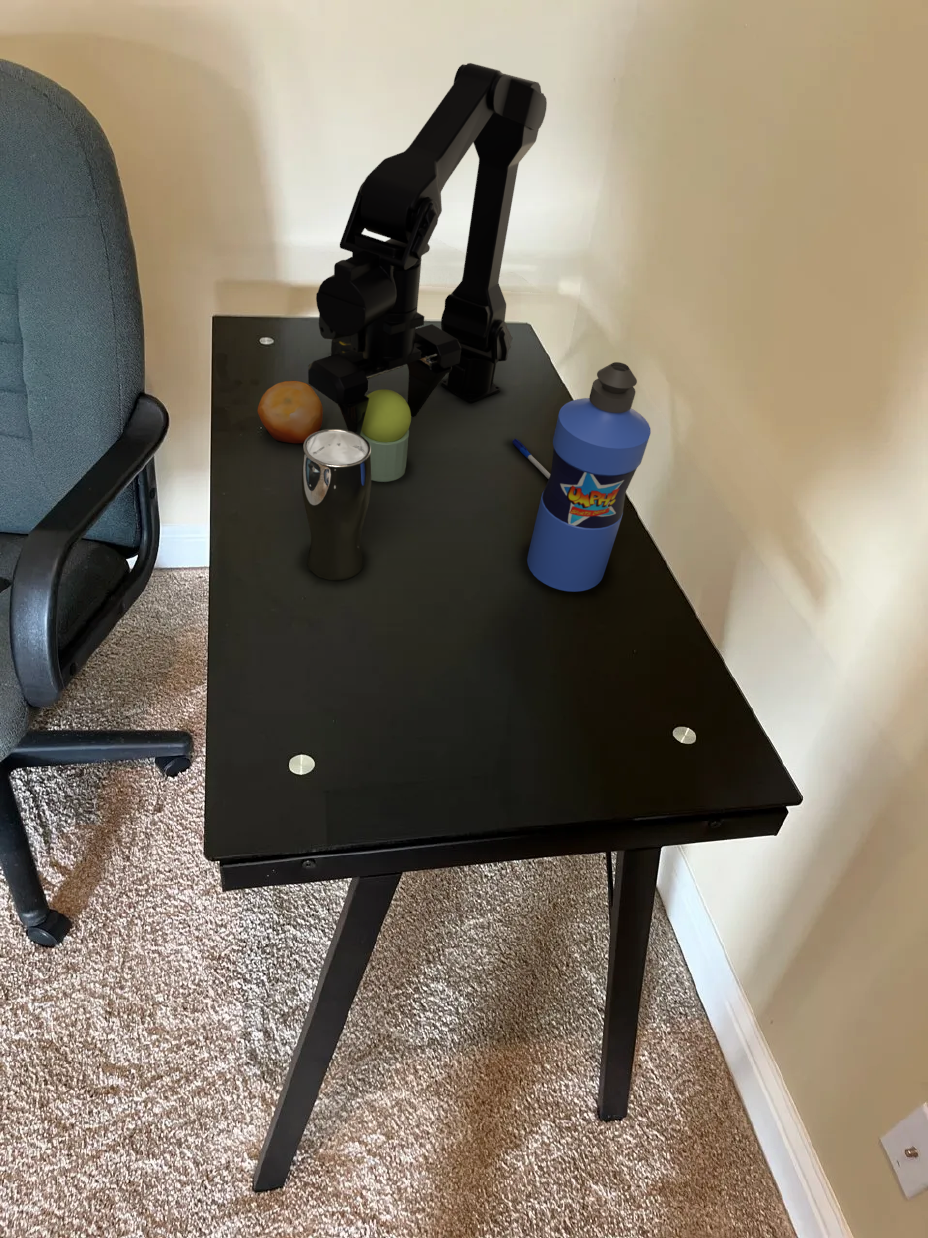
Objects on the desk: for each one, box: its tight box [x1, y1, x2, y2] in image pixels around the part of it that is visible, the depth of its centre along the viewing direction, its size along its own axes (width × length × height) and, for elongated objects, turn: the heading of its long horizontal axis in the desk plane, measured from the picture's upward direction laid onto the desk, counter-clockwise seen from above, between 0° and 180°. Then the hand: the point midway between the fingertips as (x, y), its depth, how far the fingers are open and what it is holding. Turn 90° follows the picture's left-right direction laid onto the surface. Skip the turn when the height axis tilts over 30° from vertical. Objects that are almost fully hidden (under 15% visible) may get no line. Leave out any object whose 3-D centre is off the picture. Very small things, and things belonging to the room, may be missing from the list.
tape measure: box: [330, 339, 364, 363], centre depth 122 cm, size 7×7×4 cm
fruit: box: [257, 380, 324, 444], centre depth 106 cm, size 8×8×8 cm
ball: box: [362, 388, 412, 442], centre depth 100 cm, size 6×6×6 cm
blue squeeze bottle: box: [526, 361, 652, 593], centre depth 87 cm, size 9×9×25 cm
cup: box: [360, 429, 410, 483], centre depth 103 cm, size 6×6×6 cm
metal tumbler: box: [301, 428, 372, 581], centre depth 86 cm, size 7×7×15 cm
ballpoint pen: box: [512, 438, 551, 479], centre depth 109 cm, size 10×1×1 cm, turn 33°
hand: (383, 426), depth 101 cm, fingers open, 9 cm apart
